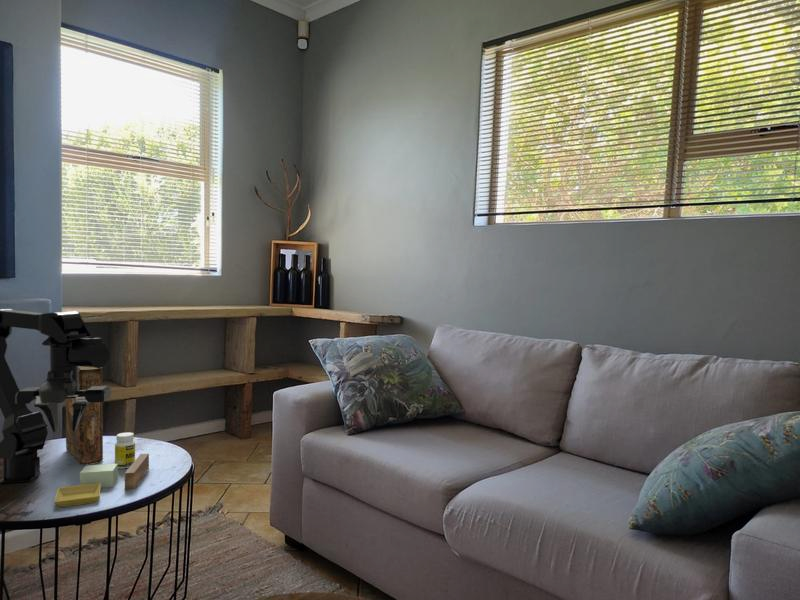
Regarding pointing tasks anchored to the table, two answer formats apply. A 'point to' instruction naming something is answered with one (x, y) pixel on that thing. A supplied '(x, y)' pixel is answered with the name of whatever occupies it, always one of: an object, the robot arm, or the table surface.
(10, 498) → the table surface
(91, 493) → the yellow tray
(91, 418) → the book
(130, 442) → the supplement bottle
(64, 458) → the table surface
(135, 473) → the board
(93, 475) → the block
